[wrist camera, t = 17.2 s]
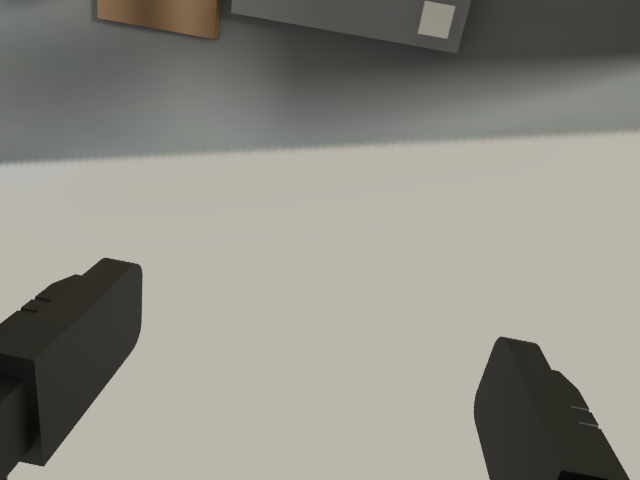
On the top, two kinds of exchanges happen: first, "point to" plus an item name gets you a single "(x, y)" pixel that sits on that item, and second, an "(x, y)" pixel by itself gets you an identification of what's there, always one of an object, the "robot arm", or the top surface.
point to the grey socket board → (371, 18)
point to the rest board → (166, 15)
